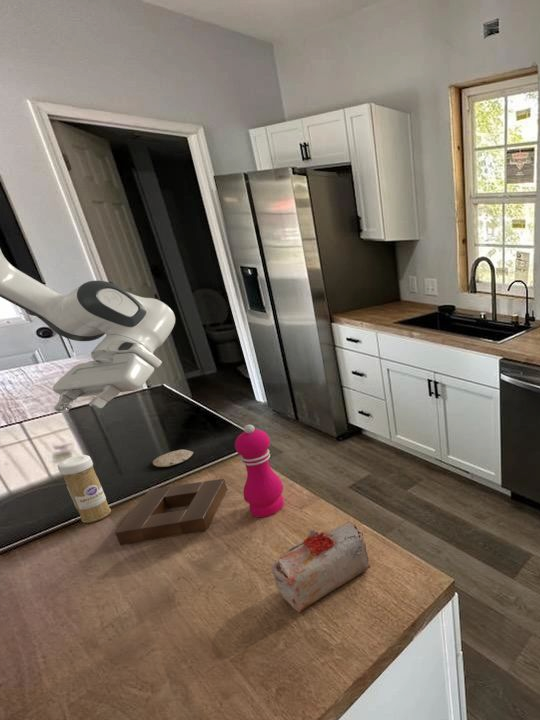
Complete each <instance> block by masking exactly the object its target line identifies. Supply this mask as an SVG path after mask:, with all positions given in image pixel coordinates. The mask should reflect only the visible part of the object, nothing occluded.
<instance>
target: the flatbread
mask: <svg viewBox="0 0 540 720" xmlns="http://www.w3.org/2000/svg"><path fill="white" fill-rule="evenodd" d="M193 455H194V451H191V450H188V449H178V450H173V451H169V452H167V453H164V454H162V455H160V456H158V457H156V458H155V459H154V460H152V465H153V466H155V467H157V468H168V467H173V466H176V465H178V464H181V463H184V462H185V461H187V460H189V459H190V458H191V457H192V456H193Z"/></svg>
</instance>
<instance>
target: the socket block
mask: <svg viewBox="0 0 540 720" xmlns="http://www.w3.org/2000/svg"><path fill="white" fill-rule="evenodd" d="M227 492H228V487H227V482H226V479H225V478H219V479H212V480H206V481H205V480H204V481H199V482H198V481H197V482H191V483H185V484H178V485H172V486H170V485H169V486H164V487H157V488H149V489H148V491H147V492H146V493H145V494H144V496H143V497H142V498H141V500H140V501H139V502H138V503H137V504H136V505H135V507H134V508H133V510H132V511H131V512H130V513H129V515H128V516H127V517H126V518H125V520H123V522H122V523H121V525H120V526H119V527H118V528H117V530H116V531H115V536H116V538H117V541H118V543H119V545H120V546H124V545H130V544H136V543H141V542H147V541H152V540H156V539H163V538H164V539H165V538H170V537H176V536H181V535H187V534H192V533H198V532H205V531H208V529H209V527H210V525H211V523H212V521H213V519H214V517H215V515H216V513H217V511H218V509H219V507H220V506H221V503H222V502H223V499H224V497H225V495H226V494H227ZM186 506H187V508H186V509H181V510H174V511H169V512H167V510H168V509H172V508H173V509H174V508H179V507H186Z"/></svg>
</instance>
